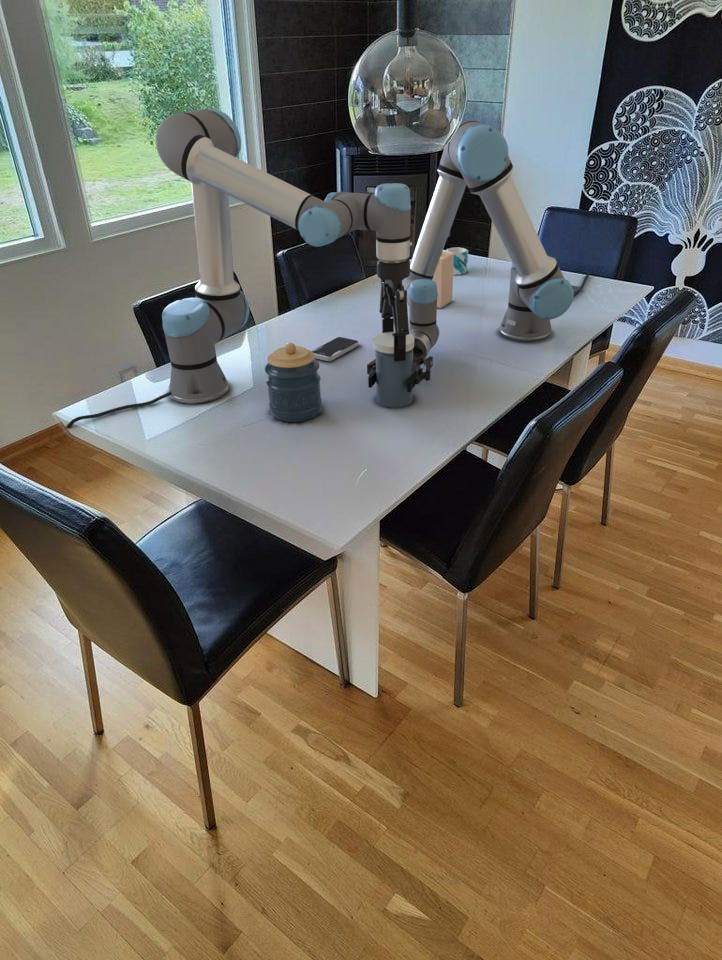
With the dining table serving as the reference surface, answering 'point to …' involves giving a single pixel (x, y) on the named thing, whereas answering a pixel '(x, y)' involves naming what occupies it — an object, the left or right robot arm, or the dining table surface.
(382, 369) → the jar
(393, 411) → the dining table surface
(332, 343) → the smartphone
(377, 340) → the lid
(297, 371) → the canister
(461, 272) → the mug
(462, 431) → the dining table surface
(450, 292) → the soap dispenser
